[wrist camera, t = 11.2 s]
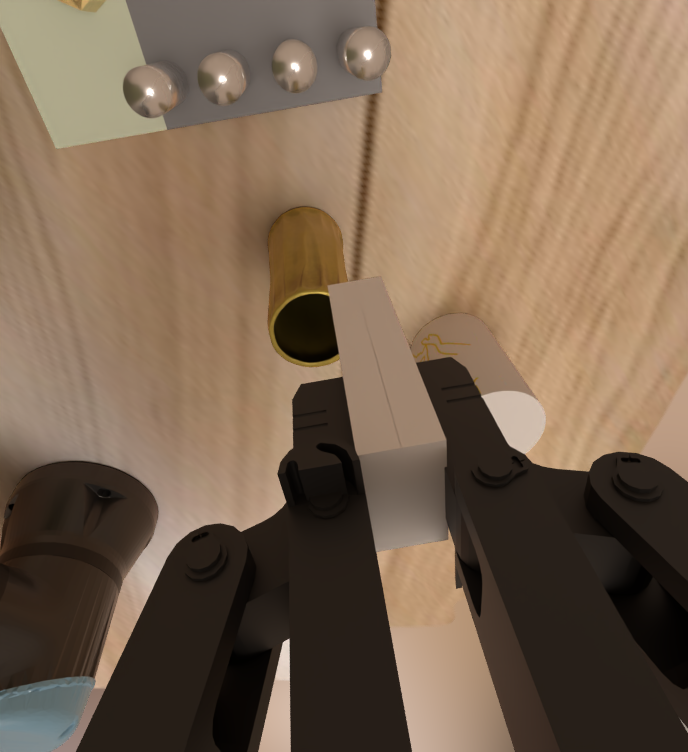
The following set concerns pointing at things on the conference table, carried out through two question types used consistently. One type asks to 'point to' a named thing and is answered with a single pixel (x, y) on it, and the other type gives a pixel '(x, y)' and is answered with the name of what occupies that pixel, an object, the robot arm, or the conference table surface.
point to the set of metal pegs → (232, 74)
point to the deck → (171, 57)
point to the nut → (84, 4)
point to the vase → (304, 286)
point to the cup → (485, 374)
